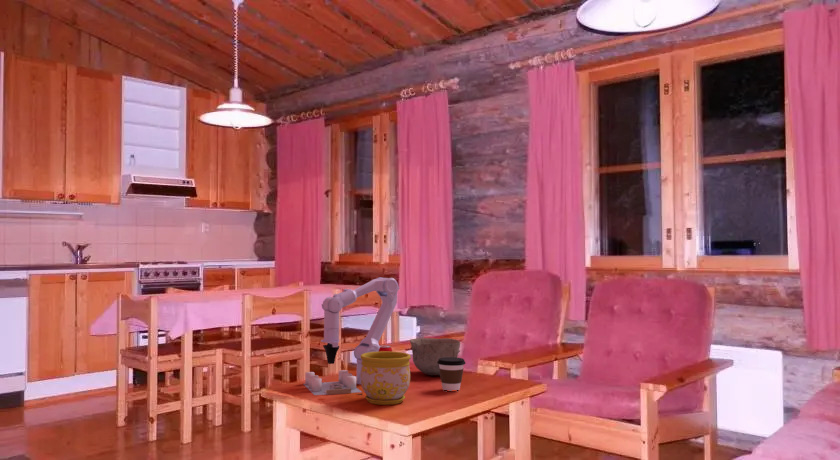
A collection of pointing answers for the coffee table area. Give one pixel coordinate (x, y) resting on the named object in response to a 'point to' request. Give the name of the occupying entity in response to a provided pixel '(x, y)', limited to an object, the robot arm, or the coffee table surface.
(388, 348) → the beverage can
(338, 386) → the hexagonal block with ball
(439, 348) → the bowl
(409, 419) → the coffee table surface
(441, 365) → the coffee cup
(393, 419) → the coffee table surface
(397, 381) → the flowerpot
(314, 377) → the spacer board
